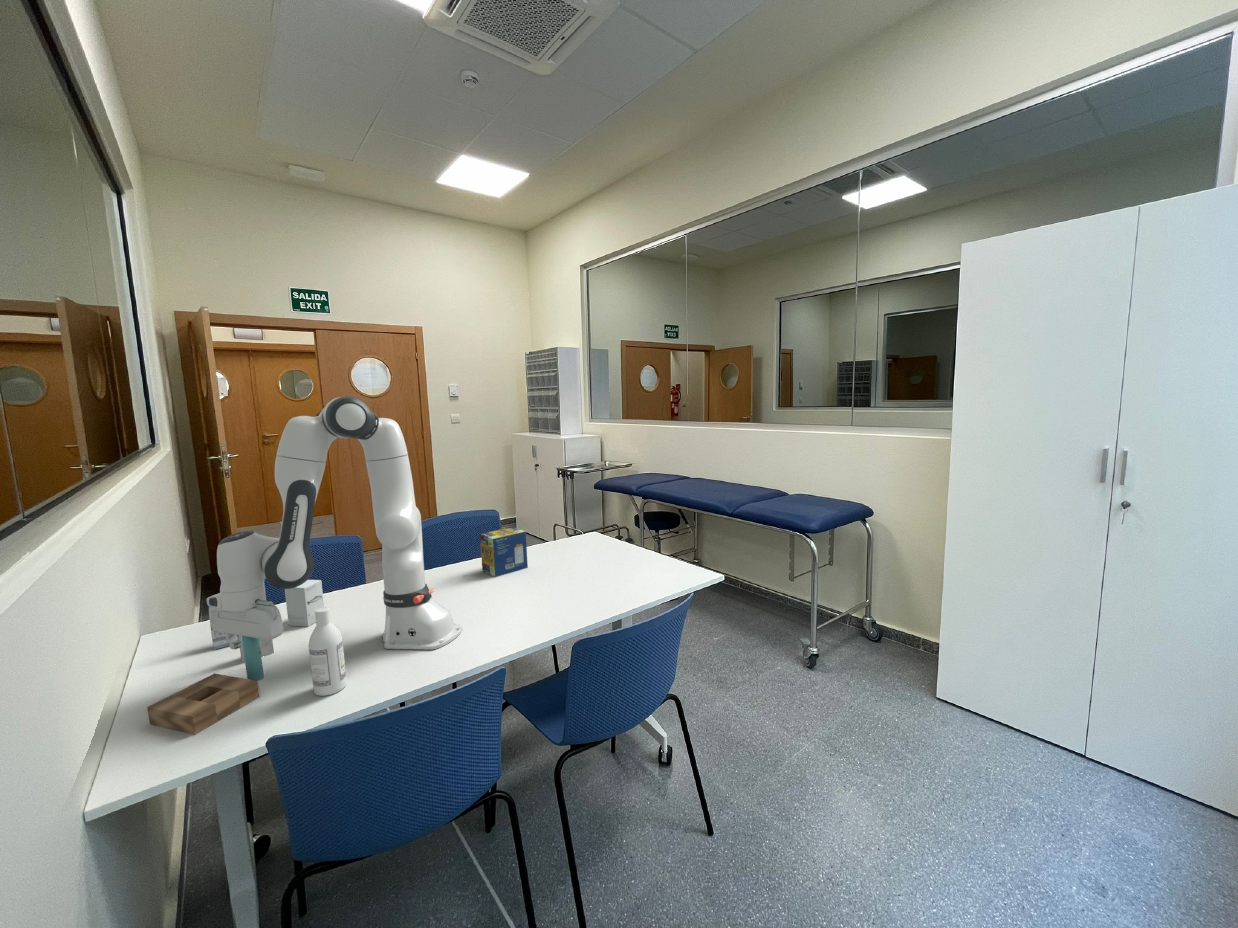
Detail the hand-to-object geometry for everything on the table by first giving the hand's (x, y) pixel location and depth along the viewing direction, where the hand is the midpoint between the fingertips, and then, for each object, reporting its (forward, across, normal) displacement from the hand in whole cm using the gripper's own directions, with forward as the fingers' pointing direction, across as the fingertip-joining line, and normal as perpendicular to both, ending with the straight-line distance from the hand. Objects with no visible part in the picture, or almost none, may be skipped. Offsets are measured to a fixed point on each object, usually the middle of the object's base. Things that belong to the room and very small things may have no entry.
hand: (249, 650), depth 127 cm
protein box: (+6, -21, -88) cm, 91 cm away
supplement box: (+8, +17, -30) cm, 35 cm away
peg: (+8, 0, 0) cm, 8 cm away
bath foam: (+7, -24, -2) cm, 25 cm away
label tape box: (+8, +26, -13) cm, 30 cm away
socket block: (+8, -3, +13) cm, 15 cm away
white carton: (+8, +10, -9) cm, 16 cm away
